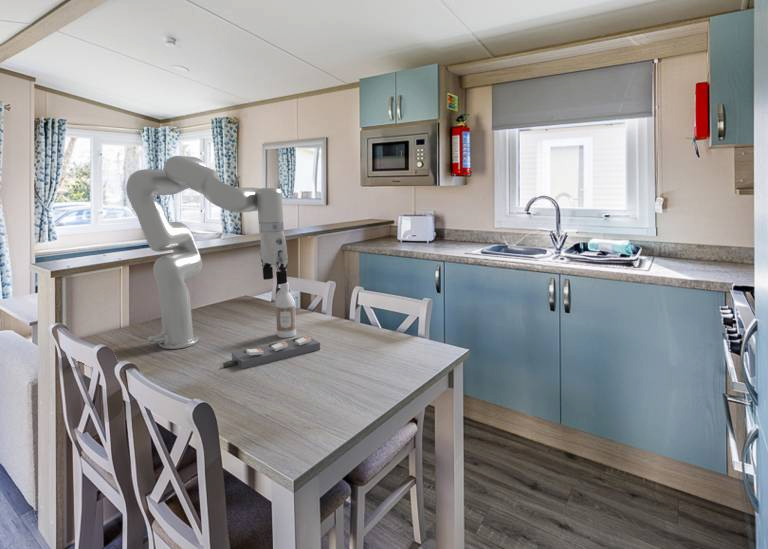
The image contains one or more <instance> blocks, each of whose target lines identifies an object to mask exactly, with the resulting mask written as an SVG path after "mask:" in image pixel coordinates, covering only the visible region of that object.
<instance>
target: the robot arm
mask: <svg viewBox="0 0 768 549" xmlns="http://www.w3.org/2000/svg"><path fill="white" fill-rule="evenodd" d="M219 176H220V175H219V174H218V172H217V171H216V170H215V169H213V168H211V167H210V168H209V167H208V166H207V165H206V163H205V162H204V161H203V160H202V159H201V158H199V157H195V156H185V155H174V156H171V157H169V158H168V159H166V161H165V163H164V165H163V169H156V168H155V169H154V168H153V169H152V168H145V169H139V170H136V171H134V172H133V173H132V174H130V176H129V177H128V179H127V182H126V186H125V189H126V191H125V192H126V195H127V199H128V201H129V203H130V204H131V207H132V208H133V210H134V213H135V214H136V217H137V219H138V222H139V225H140V227H141V230H142V233H143V235H144V238H145V240H146V242H147V245H148V247H149V248H150V250H152V251H153V252H157V253H162V252H168V251H172V252H173V253H170V254H165V255H163V256H160V257H158V258H157V259H156V260H155V261H154V264H153V270H152V271H153V275H154V278H155V283H156V284H157V286H156V287H157V289H158V296H159V304H160V315H161V324H162V325H161V326H162V331H160V333H158V334H157V335H152V336H148V338H147V340H148V343H154V344H156V343H158V345H159V347H160V348H162V349H165V350H175V349H176V350H177V349H184V348H189V347H191V346H194V345H196V344H197V343H198V342H199V337H198V336H197V335H196V334H194V329H193V318H192V307H191V306H192V304H191V298H190V297H191V296H190V290H189V287H188V285H187V284H186V283H185V280H186V279H189V278H194V277H195V276H197V275H198V274H200V273H201V271H202V269H203V260H202V257H201V253H200V251H199V248H198V246H197V242H196V240H195V237H194V235H193V233H192V231H191V229H190V228H189V226H187V225H186V224H185V223H183V222H181V221H169V219H168V216H167V214H166V211H165V209H164V207H163V206H162V205H161V203H160V202H159V201H158V200H157V199H156V198H155V196H172V195H177V194H179V193H181V192H183V191H185V190H187V189H190V190H192V191H195V192H197V193H200V194H201V195H203V196H204V198H206V200H207V201H208V202H210V203H211V204H213V205H215V206H216V207H219V208H220V209H223V210H225V211H228V212H231V213H235V214H240V213H251V212H257V217H258V218H257V219H258V221H257V222H258V231H259V232H258V233H259V234H260V252H259V256H260V262H261V266H262V276H263V277H262V279H263V280H265V281H266V280H272V279H274V274H273V272H274V271H273V266H274V267H275V269H276V272H275V273H276V275H275V276H276V277H275V278H276V284H277V285H281V284H285V283H287V282H288V276H287V271H288V268H287V267H288V262H289V259H288V258H289V257H288V247H287V239H286V236H285V230H284V229H285V228H284V212H283V210H284V209H283V197H282V190H281V189H280V188H278V187H261V188H260V187H259V188H258V187H236V186H233V185H230V184H228V183H225V182H223V181H221V180H220V177H219ZM272 265H273V266H272Z"/></svg>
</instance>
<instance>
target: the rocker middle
mask: <svg viewBox="0 0 768 549" xmlns="http://www.w3.org/2000/svg"><path fill="white" fill-rule="evenodd" d="M281 341H282V342H281ZM281 341H279V342H280V343H277V342H276V343H277V344H275V345H272V346H271V348H272V349H273V350H275V351H278V350H280V349H283V348H285V347H288V344H287V343H286V342H284V341H285V340H281Z"/></svg>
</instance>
